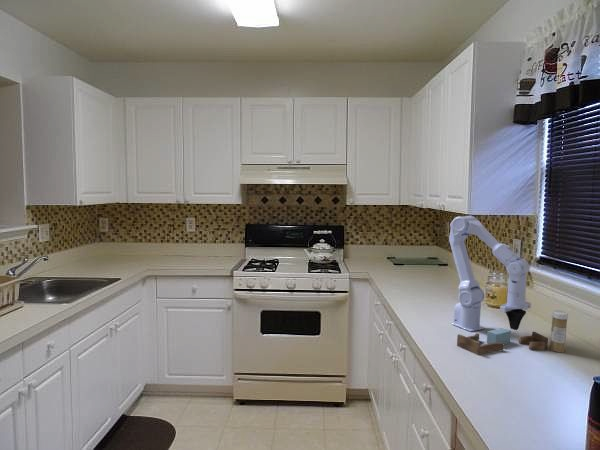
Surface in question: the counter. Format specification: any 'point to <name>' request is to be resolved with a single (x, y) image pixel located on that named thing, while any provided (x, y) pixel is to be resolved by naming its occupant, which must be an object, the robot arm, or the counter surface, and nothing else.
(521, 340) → the brown stepped block
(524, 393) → the counter surface
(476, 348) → the endcap rail
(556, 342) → the sprinkles bottle
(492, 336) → the pale teal block
